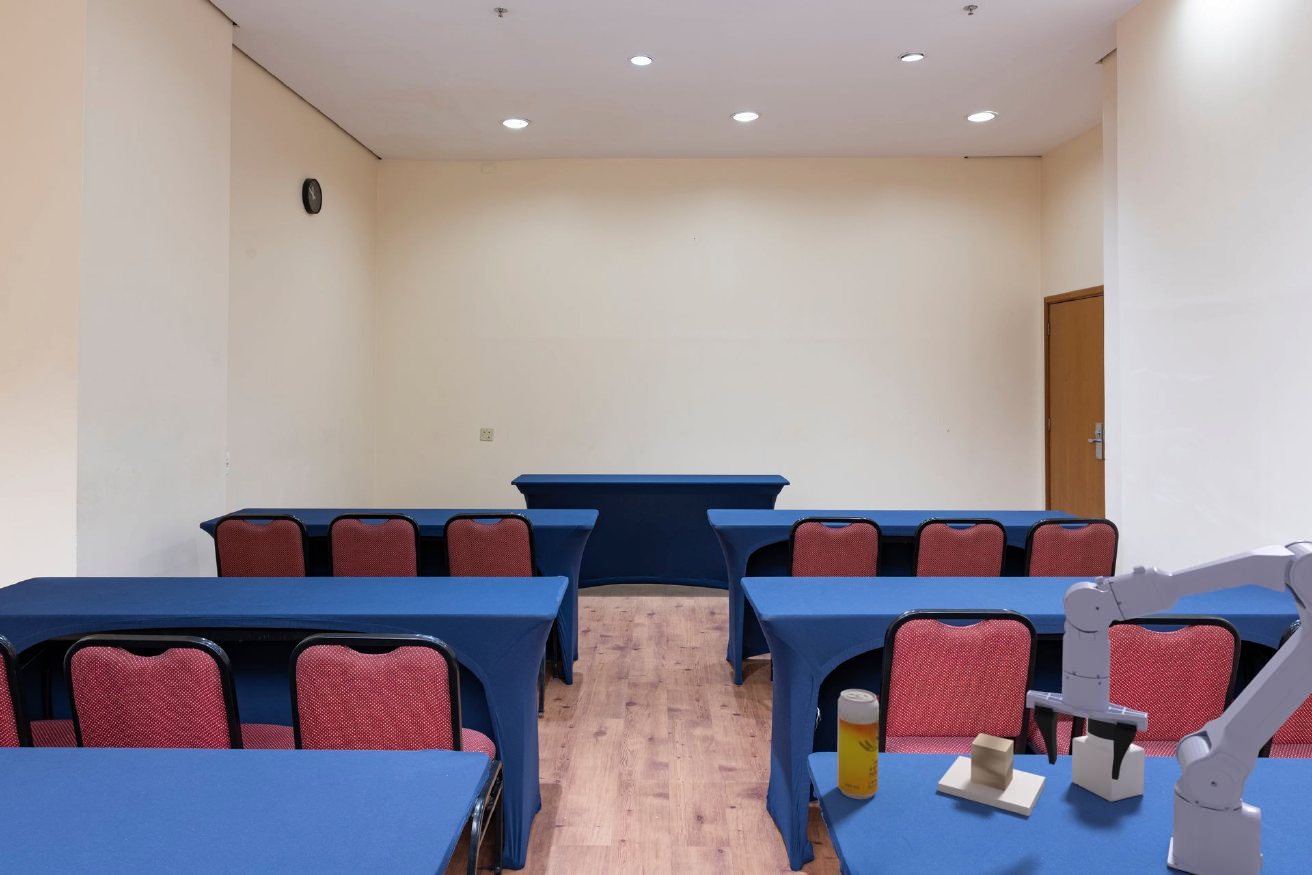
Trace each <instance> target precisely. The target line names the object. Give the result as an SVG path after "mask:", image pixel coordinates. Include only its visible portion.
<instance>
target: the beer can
mask: <svg viewBox="0 0 1312 875" xmlns="http://www.w3.org/2000/svg"><path fill="white" fill-rule="evenodd" d="M879 708H880V703H879V701H878V699H877V695H876V694H875V693H873V692H871V691H869V690H865V689H861V688H860V689H859V688H849V689H845V690H843V691H841V692H840V695H839V697H838V699H837V742H836V743H837V744H836V745H837V746H836V747H837V750H836V751H837V754H836V759H837V760H836V761H837V762H836V765H837V767H836V770H837V771H836V786H837V787H838V789H839V790H840V792H841V793H842V795H844V796H846V797H848V798H852V799H856V800H867V799H870V798H872V797H873V796H874V795H875V793H876V792H878V788H879V732H880V731H879V729H880V728H879V727H880V726H879V725H880V724H879V723H880V718H879V717H880V715H879V714H880V709H879Z"/></svg>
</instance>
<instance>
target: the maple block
mask: <svg viewBox="0 0 1312 875" xmlns="http://www.w3.org/2000/svg"><path fill="white" fill-rule="evenodd" d="M1014 742H1015V741H1014V740H1013V739H1007V738H1004V737H999V736H994V735H990V734H986V733H981V732H980V733H979V734H978V735H977V736H976V738H975V739H974V740H973V741H972V742H971V746H970V751H971V752H970V758H971V782H973V783H977V784H981V785H985V786H988V787H992V788H996V789H999V790H1003V791H1005V790H1006V789H1007V787H1008V786H1009V784H1010V782H1011V781H1012V779H1013V769H1014V744H1015V743H1014Z"/></svg>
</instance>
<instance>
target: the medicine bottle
mask: <svg viewBox="0 0 1312 875" xmlns="http://www.w3.org/2000/svg"><path fill="white" fill-rule="evenodd" d="M1115 726H1116V724H1114V723H1109V722H1104V721H1099V720H1094V719H1089V718H1086V730H1085V731H1086V732H1085V733H1086V735H1084V736H1083V735H1082V736H1078V737H1077V736H1076V737H1073V738H1072V755H1071V756H1072V758H1071V782H1072V783H1073V782H1074V783H1073V784H1076V785H1077V784H1078V786H1079V787H1081V788H1082V789H1085V790H1086V791H1089V792H1091V793H1092V794H1095V795H1097V796H1098V797H1101V798H1103V799H1105V800H1106V801H1108V802H1116V801H1120V800H1123V799H1124V800H1125V799H1128V798H1132V797H1136V796H1140V795H1143V794H1144V793H1145V791H1144V790H1145V789H1144V788H1145V785H1144V784H1145V757H1146V755H1145V753H1146V751H1145V749H1144V748H1143V747H1141V746H1139V745H1137V744H1133V742H1132V743H1131V745H1130V746H1129V748H1128V750H1127V752H1126V754H1125V756H1124V758H1123V760H1122V763H1121V767H1120V774H1119V778H1118V780H1115V779H1112V766H1113V757H1114V745H1113V731H1114V728H1115Z"/></svg>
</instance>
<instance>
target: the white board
mask: <svg viewBox="0 0 1312 875" xmlns="http://www.w3.org/2000/svg"><path fill="white" fill-rule="evenodd" d="M1045 786H1046V777H1045V776H1043V775H1037V774H1034V773H1030V772H1027V771H1023V770H1020V769H1019V770H1018V769H1015V768H1013V779H1012V781H1011V782H1010V784H1009V786H1008V787H1007V789H1006V790H1005V791H1003V790H999V789H996V788H992V787H988V786H985V785H981V784H977V783H973V782H971V757H966V756H964V755H963V756H961V755H959V756H958V757H957V758H956V760H955V761H954V762H953V763H952V764H951V765H950V767H949V768H948V770H947V771H946V773H944V775H943V776H942V778H941V779H940V780H939V781H938V782H937V791H938V792H940V793H941V792H942V793H945V794H947V795H948V794H949V795H952V796H956V797H959V798H962V799H965V800H970V801H973V802H977V803H981V804H984V805H989V806H991V807H995V808H998V809H1002V810H1005V811H1008V812H1014V813H1016V814H1020V815H1023V816H1026V817H1030V816H1031V814H1032V812H1033V810H1034V808H1035V806H1036V804H1037V802H1038V799H1039V797H1040V796H1041V793H1042V792H1043V790H1044V788H1045Z"/></svg>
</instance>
